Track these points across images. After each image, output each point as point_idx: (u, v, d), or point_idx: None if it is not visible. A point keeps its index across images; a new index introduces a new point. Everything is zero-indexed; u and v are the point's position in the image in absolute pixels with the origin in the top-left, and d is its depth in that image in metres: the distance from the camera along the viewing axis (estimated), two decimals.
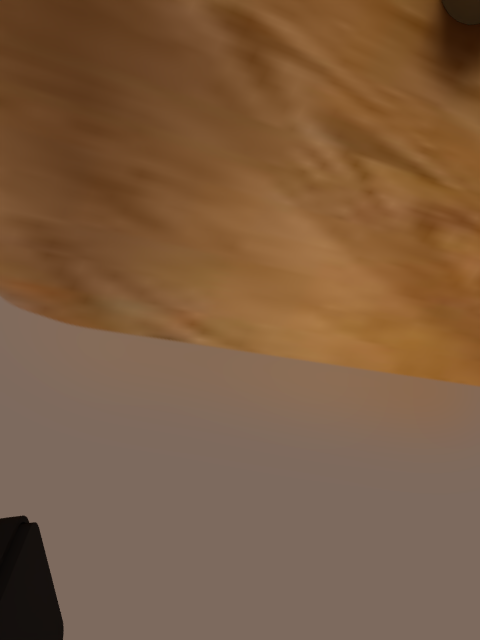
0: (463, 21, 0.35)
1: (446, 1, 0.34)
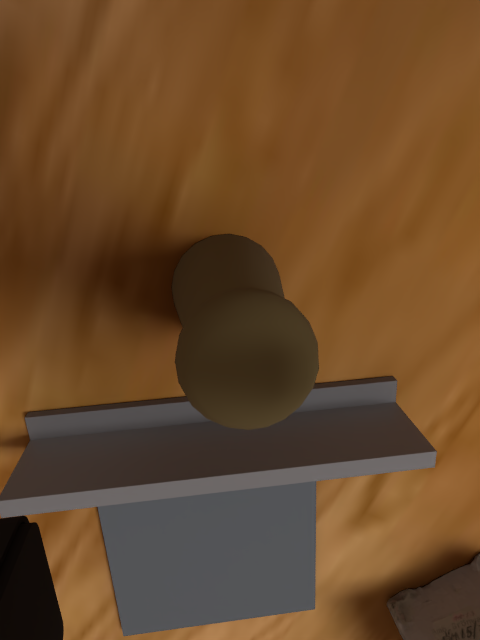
0: (174, 278, 0.25)
1: (194, 246, 0.24)
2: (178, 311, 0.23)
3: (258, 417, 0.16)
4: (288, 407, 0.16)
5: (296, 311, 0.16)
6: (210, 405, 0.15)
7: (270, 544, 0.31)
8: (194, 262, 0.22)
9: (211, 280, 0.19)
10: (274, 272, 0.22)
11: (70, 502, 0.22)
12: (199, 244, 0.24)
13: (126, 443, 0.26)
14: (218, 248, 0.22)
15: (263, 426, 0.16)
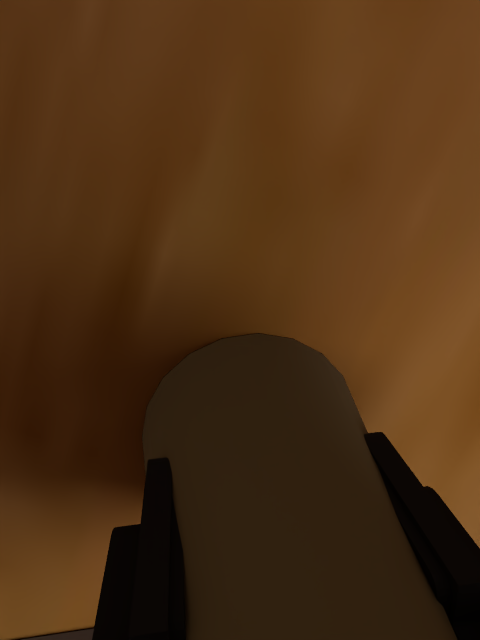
0: (148, 420, 0.12)
1: (188, 364, 0.11)
2: None
3: None
4: None
5: None
6: None
7: None
8: (186, 418, 0.10)
9: (236, 536, 0.07)
10: None
11: None
12: (198, 360, 0.11)
13: None
14: (241, 385, 0.10)
15: None
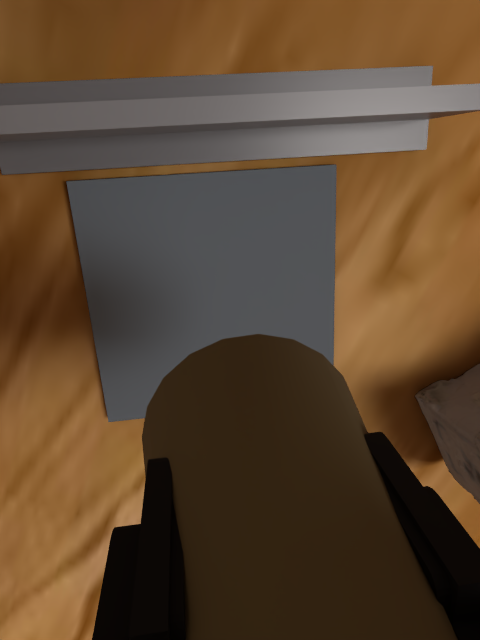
0: (147, 421, 0.12)
1: (188, 364, 0.11)
2: None
3: None
4: None
5: None
6: None
7: (281, 299, 0.26)
8: (187, 418, 0.10)
9: (236, 537, 0.07)
10: None
11: (33, 119, 0.18)
12: (198, 361, 0.11)
13: None
14: (242, 386, 0.10)
15: None
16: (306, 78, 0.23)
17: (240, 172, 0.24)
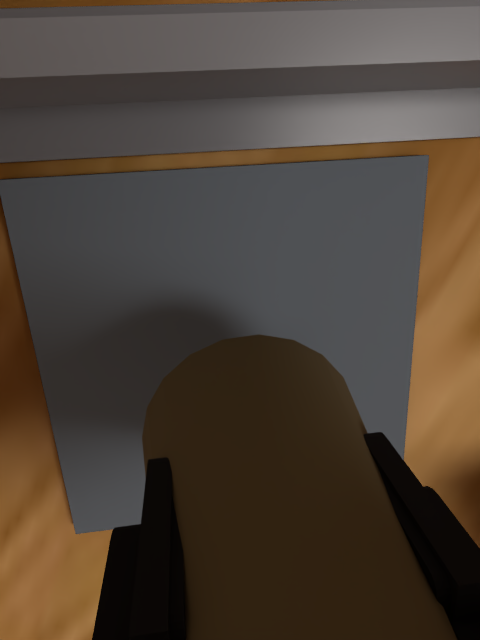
0: (147, 421, 0.12)
1: (188, 365, 0.11)
2: None
3: None
4: None
5: None
6: None
7: (334, 358, 0.18)
8: (187, 419, 0.10)
9: (236, 538, 0.07)
10: None
11: None
12: (198, 361, 0.11)
13: None
14: (241, 386, 0.10)
15: None
16: None
17: (278, 166, 0.15)
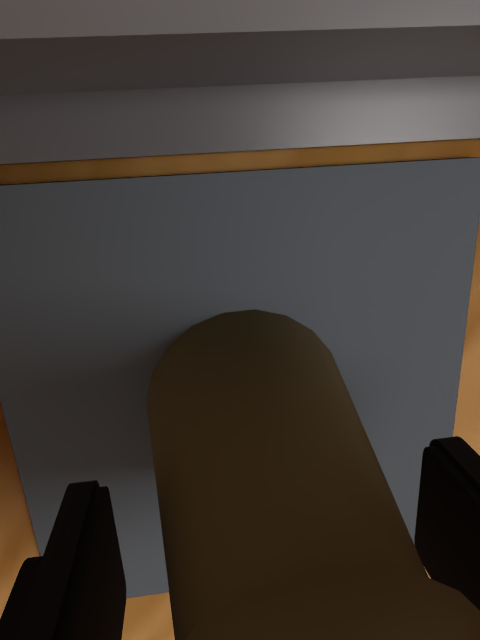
0: (152, 387, 0.13)
1: (191, 334, 0.13)
2: None
3: None
4: None
5: None
6: None
7: (364, 402, 0.15)
8: (190, 377, 0.11)
9: (233, 463, 0.08)
10: (350, 400, 0.11)
11: None
12: (200, 331, 0.13)
13: None
14: (239, 350, 0.11)
15: None
16: None
17: (301, 171, 0.12)
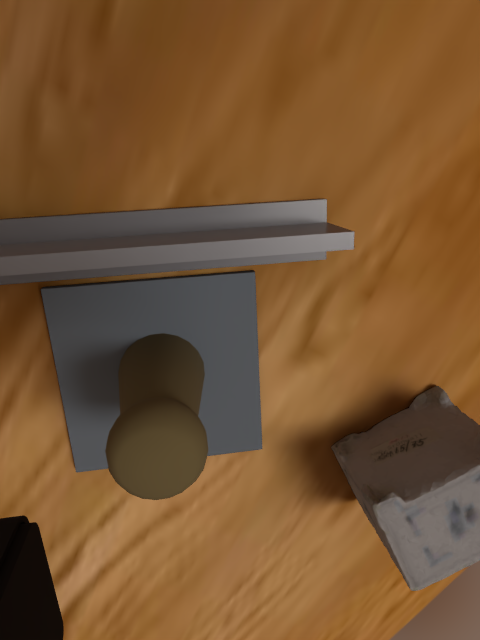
0: (120, 366, 0.32)
1: (136, 343, 0.31)
2: None
3: (161, 492, 0.23)
4: (183, 485, 0.23)
5: (189, 418, 0.23)
6: (127, 484, 0.22)
7: (215, 373, 0.33)
8: (132, 360, 0.29)
9: (140, 382, 0.26)
10: (194, 368, 0.30)
11: (12, 266, 0.24)
12: (139, 342, 0.31)
13: (71, 242, 0.27)
14: (151, 349, 0.29)
15: (166, 497, 0.23)
16: (227, 210, 0.30)
17: (178, 279, 0.30)
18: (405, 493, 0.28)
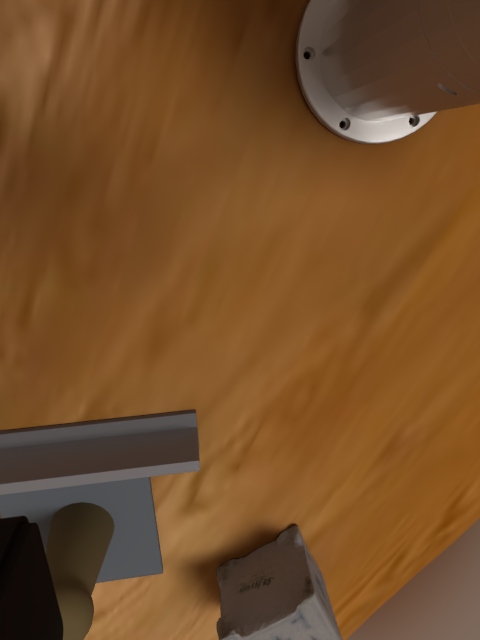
0: (51, 524, 0.44)
1: (61, 511, 0.43)
2: None
3: None
4: None
5: (77, 602, 0.35)
6: None
7: (122, 525, 0.45)
8: (55, 530, 0.41)
9: (54, 560, 0.38)
10: (99, 535, 0.42)
11: None
12: (63, 510, 0.43)
13: (8, 457, 0.39)
14: (69, 522, 0.41)
15: None
16: (122, 424, 0.41)
17: None
18: (244, 629, 0.40)
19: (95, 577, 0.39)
